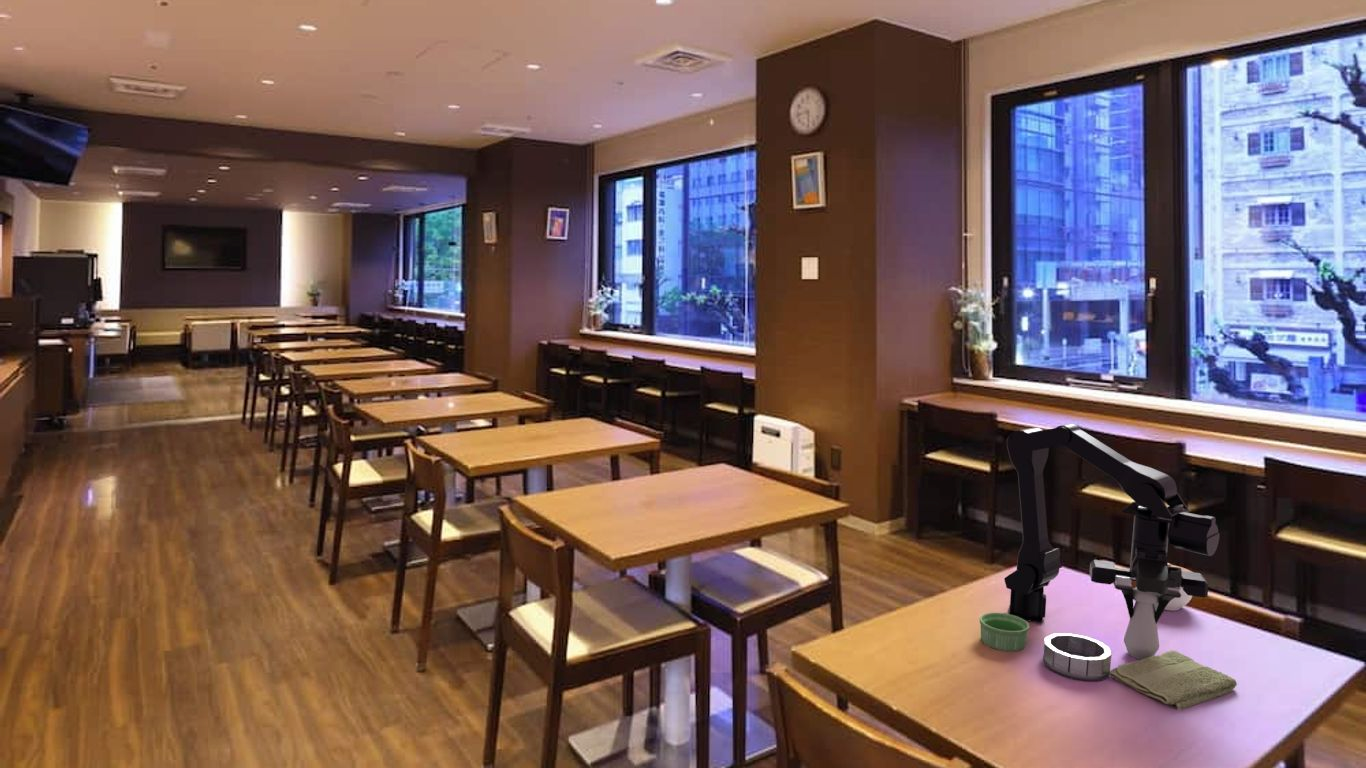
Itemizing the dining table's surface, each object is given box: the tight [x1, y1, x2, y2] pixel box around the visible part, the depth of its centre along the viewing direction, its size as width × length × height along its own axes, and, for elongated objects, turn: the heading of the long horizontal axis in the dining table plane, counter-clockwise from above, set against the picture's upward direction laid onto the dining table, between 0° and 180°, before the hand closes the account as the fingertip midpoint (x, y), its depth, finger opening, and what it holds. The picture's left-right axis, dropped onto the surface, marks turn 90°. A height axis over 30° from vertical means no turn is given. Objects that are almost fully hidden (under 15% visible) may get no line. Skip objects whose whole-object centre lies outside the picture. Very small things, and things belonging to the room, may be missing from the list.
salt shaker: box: [1123, 586, 1160, 660], centre depth 152 cm, size 6×6×13 cm
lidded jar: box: [1154, 562, 1193, 612], centre depth 177 cm, size 11×11×9 cm
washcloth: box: [1109, 649, 1238, 710], centre depth 142 cm, size 13×18×3 cm
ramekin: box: [979, 612, 1030, 652], centre depth 158 cm, size 9×9×4 cm
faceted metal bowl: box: [1042, 632, 1112, 683], centre depth 148 cm, size 11×11×4 cm
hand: (1142, 621), depth 152 cm, fingers closed on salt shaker, 3 cm apart
